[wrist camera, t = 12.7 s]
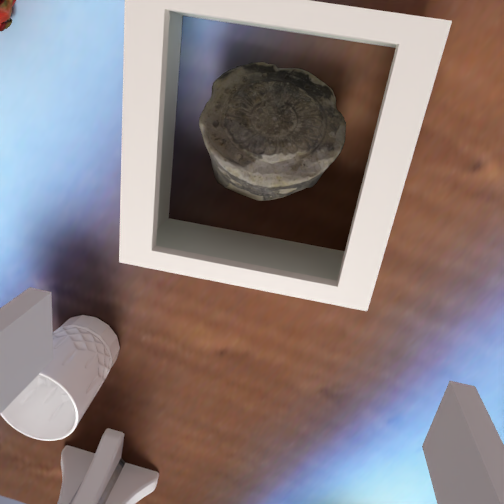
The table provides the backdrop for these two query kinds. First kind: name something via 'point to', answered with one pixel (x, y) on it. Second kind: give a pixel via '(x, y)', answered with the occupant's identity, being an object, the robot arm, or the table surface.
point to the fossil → (271, 130)
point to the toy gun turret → (103, 474)
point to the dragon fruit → (5, 13)
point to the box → (251, 245)
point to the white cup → (65, 380)
